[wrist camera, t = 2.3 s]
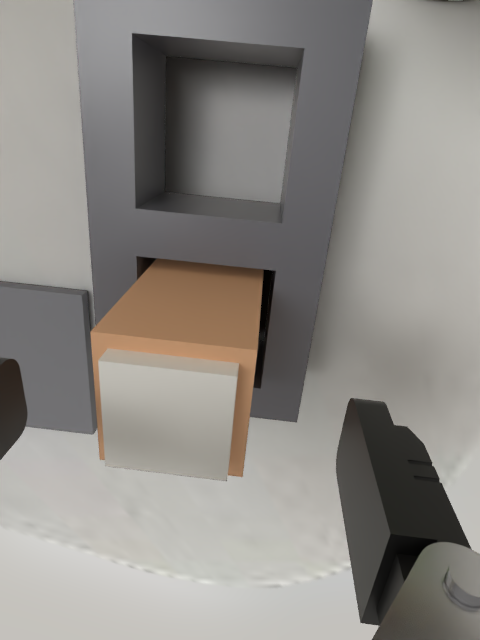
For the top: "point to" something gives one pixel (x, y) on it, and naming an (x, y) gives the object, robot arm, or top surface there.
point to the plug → (178, 370)
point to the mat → (50, 354)
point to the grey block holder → (205, 211)
